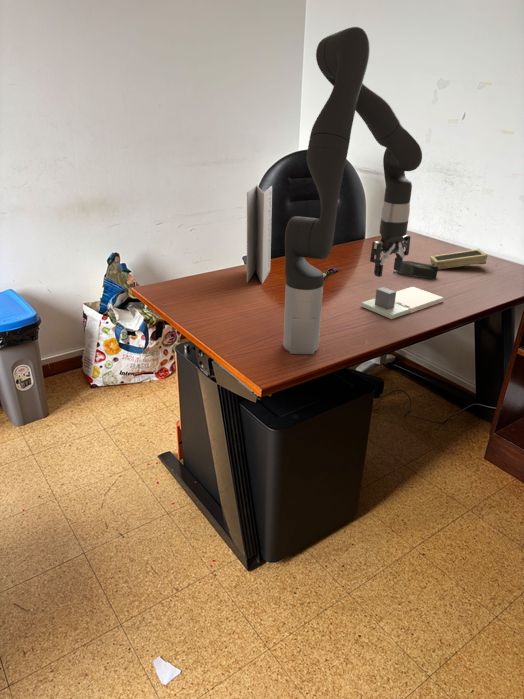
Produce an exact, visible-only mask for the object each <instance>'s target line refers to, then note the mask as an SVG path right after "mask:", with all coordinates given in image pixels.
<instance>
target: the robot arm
mask: <svg viewBox="0 0 524 699" xmlns="http://www.w3.org/2000/svg"><path fill="white" fill-rule="evenodd" d="M315 52H316V53H315V57H316V58H315V60H316V63H317V66H318V68H319V70H320V72H321V73H322V75H323V76H324V78H326V80H327V81H328V82H329V83H330V84H331V86H333V88H332V89H331V90H332V91H331V93H330V95H329V97H328V98H327V100H326V102H325V103H324V106H323V107H322V109H321V111H320V112H319V114H318V116H317V117H316V120H315V121H314V123H313V125H312V128H311V130H310V134H309V135H310V136H309V140H308V145H307V151H306V163H307V164H306V165H307V167H308V170H309V172H310V175H311V177H312V180H313V182H314V185H315V186H316V190H317V193H318V197H319V200H320V215H319V218H316V217H307V216H292V217H291V218H290V219H289V220H288V222H287V223H286V224H287V225H286V228H285V233H284V254H285V255H284V263H285V264H284V271H285V272H284V274H285V287H284V288H285V290H284V291H285V294H284V315H283V316H284V318H283V320H284V321H283V340H282V342H283V344H282V345H283V346H282V347H283V348H284V350H286V351H287V352H289V354H291V355H293V354H294V355H315V352H317V350H319V347H320V346H319V345H320V337H321V336H320V334H321V333H320V332H321V319H322V308H323V307H322V306H323V295H324V294H323V292H324V291H323V290H324V281H325V280H324V279H325V277H324V274H323V272H322V271H321V270H320V268H316V267H315V266H314V265H312V264H310V263H309V262H308V261H307V260H306V259H305V258H308V259H315V260H326V259H327V258H329V256H330V253H331V250H332V248H333V245H334V238H335V230H336V224H337V223H336V222H337V214H338V205H339V198H340V193H341V192H340V191H341V186H342V180H343V175H344V170H345V167H346V162H347V157H348V152H349V148H350V140H351V135H352V129H353V124H354V119H355V113H357V114H358V115H359V116H360V118H361V119H362V121H363V122H364V123H365V125H366V127H367V128H368V130H369V131H370V132H371V135H372V137H373V138H374V139H375V141H376V142H377V143H378V144H379V145H380V146H381V147H384V148H385V150H384V152H383V156H382V157H383V158H382V166H383V175H384V182H385V189H384V196H383V205H382V208H381V214H380V215H381V217H380V223H379V235H380V236H381V239H380V241H376V240H374V241H373V242H372V244H371V250H370V257H369V258H370V259H369V262H370V263H374V272H373V273H374V274H373V275H374V276H375V277H378V278H380V277H382V276H383V270H384V262H385V261H386V260H387V259H388V258H389V257H390V255H392V254H394V255H395V256H394V257H395V258H394V262H393V271H400V270H401V267H402V261H404V258H405V256H409V254H410V244H411V235H407V232H408V225H409V220H410V219H409V218H410V210H411V208H410V207H411V196H412V189H413V184H412V181H411V180H409V179H408V178H407V176H406V173H405V172H413V171H415V170H417V169H418V168H419V167H420V165H421V163H422V161H423V152H422V148H421V146H420V144H419V143H418V142H417V140H416V139H415V138H414V137H413V136H412V134H410V132H408V130H406V129H405V128H404V127H403V125H402V124H401V122H400V119H399V118H398V116H397V115H396V113H395V111H394V110H393V108H392V107H391V105H390V104H389V103H388V102H387V101H386V100H385V99H384V98H383V97H382V96H381V95H380V94H378V93H377V92H375V91H373V90H372V89H370V88H369V87H368V86H367V85H365V84H364V83H363V82H364V79H365V75H366V71H367V69H368V64H369V61H370V60H369V59H370V40H369V37H368V35H367V33H366V31H365V30H364V29H363V28H362V27H360V26H352V27H348V28H344V29H342V30H339V31H337V32H335V33H332V34H329V35H327V36H325V37H324V38H322V39H320V41H319V42H318V45H317V47H316V51H315Z"/></svg>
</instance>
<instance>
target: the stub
mask: <svg viewBox="0 0 524 699" xmlns="http://www.w3.org/2000/svg"><path fill="white" fill-rule="evenodd" d="M375 291H376V292H375V297H374V298H371V299H369V300H368V299H367V300H366V301H362V302H361V304H360V307H362V308H363V309H366V310H369V311H371V312H372V313H376V314H379V315H381V316H383V317H386V318H388V319H390V320H393V319H395V318H399V317H402V316H405V315H408V314H410V313H409V310H410V309H408V308H406V307H403V306H401V305H398V304H396V303H395V297H396V292H397V291H395V290H393V289H390V288H387V287H384V286H382V287H379V288H376V290H375Z"/></svg>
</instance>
